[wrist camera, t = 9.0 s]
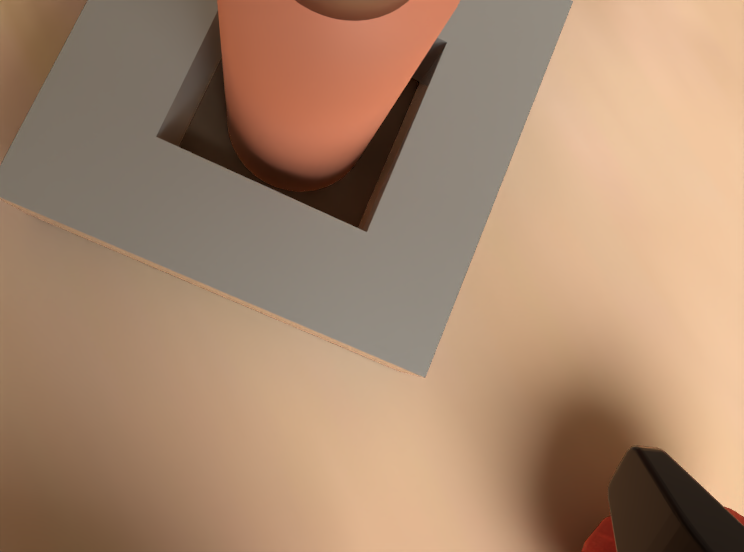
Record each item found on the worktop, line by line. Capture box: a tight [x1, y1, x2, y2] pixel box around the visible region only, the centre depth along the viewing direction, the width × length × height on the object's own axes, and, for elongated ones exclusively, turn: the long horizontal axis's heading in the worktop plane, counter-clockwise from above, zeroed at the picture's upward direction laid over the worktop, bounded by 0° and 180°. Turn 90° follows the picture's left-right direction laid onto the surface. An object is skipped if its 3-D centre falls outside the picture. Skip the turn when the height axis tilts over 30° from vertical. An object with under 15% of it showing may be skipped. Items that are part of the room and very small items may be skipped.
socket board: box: [0, 0, 573, 378], centre depth 19 cm, size 12×12×3 cm
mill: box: [217, 0, 460, 192], centre depth 15 cm, size 4×4×11 cm
